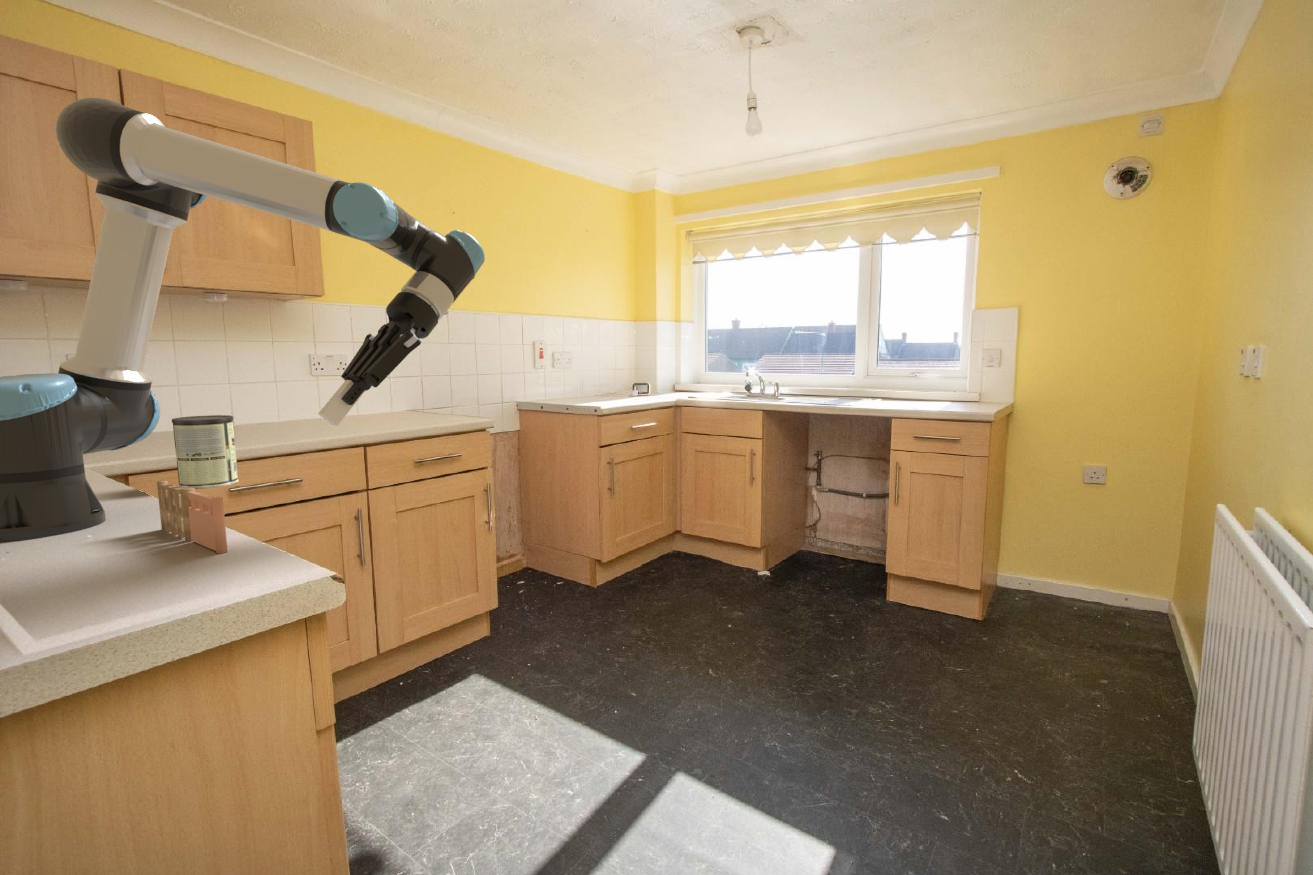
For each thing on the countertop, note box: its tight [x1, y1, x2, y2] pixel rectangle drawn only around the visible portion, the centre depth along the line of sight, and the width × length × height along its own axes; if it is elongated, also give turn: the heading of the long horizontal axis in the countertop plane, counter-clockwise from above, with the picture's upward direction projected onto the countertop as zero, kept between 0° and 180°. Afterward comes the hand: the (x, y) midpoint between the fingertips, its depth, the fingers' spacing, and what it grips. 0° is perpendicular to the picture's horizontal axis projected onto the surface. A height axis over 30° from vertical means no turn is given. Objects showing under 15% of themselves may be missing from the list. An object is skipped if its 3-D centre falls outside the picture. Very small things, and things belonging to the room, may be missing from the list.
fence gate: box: [188, 490, 229, 555], centre depth 82 cm, size 9×1×7 cm, turn 55°
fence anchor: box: [156, 480, 196, 543], centre depth 88 cm, size 11×2×8 cm, turn 55°
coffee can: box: [171, 414, 240, 490], centre depth 129 cm, size 10×10×14 cm
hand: (327, 419), depth 91 cm, fingers closed
